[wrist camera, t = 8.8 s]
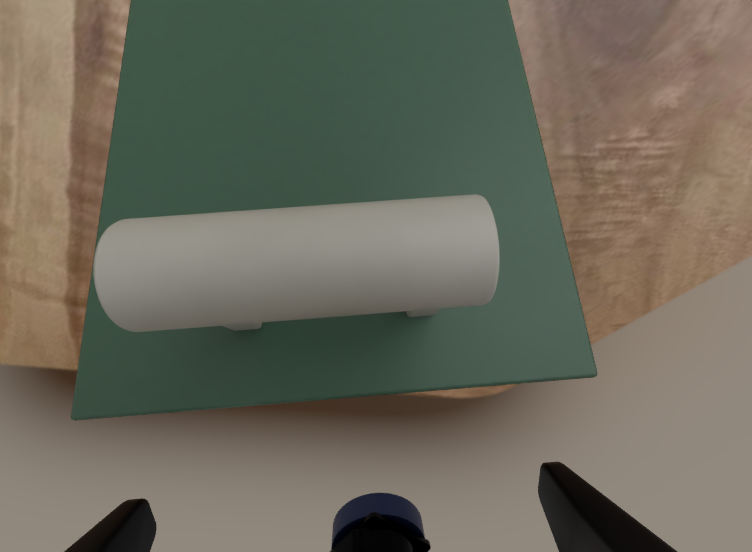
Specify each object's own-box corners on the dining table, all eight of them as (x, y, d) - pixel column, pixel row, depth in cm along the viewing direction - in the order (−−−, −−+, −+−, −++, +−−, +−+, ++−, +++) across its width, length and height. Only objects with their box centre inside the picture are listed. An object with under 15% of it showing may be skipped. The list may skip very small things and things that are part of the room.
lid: (583, 377, 9) (822, 371, 4) (92, 417, 9) (-257, 462, 4) (496, -2, 12) (572, -243, 7) (143, 18, 12) (-8, -219, 7)
